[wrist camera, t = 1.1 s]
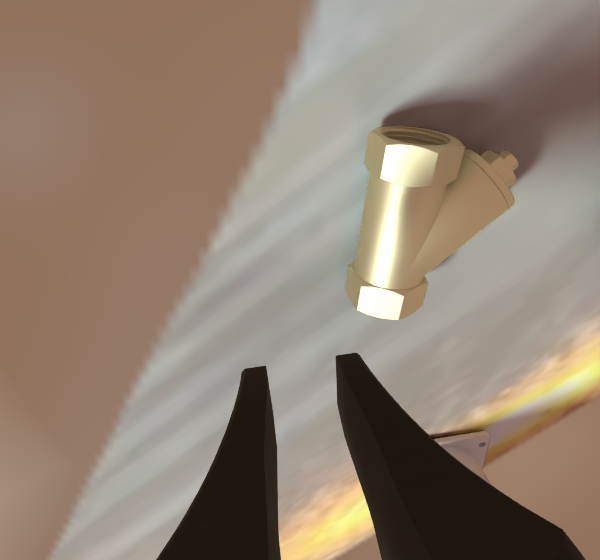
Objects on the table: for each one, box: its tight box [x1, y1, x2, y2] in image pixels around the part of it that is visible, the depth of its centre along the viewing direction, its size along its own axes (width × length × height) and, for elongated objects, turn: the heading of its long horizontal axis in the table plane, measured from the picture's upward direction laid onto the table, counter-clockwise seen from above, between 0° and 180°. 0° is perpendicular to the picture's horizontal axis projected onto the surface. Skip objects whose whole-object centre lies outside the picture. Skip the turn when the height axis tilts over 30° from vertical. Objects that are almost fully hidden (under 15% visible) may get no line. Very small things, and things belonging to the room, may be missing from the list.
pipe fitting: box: [345, 126, 519, 320], centre depth 21 cm, size 8×4×7 cm
